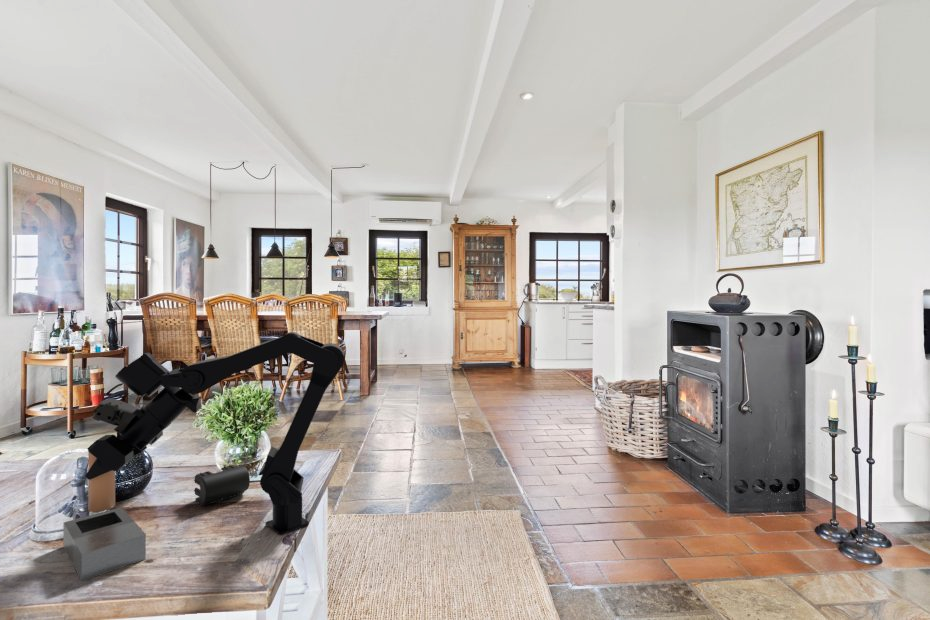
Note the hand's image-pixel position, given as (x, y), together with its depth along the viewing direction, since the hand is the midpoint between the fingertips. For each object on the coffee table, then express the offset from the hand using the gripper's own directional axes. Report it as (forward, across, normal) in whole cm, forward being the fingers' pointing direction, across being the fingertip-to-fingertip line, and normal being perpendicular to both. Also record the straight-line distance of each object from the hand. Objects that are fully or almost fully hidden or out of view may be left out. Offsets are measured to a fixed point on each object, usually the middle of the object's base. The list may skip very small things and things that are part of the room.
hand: (93, 473), depth 88 cm
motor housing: (+7, +4, +12) cm, 14 cm away
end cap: (-3, -17, +23) cm, 28 cm away
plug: (+4, 0, +6) cm, 7 cm away
